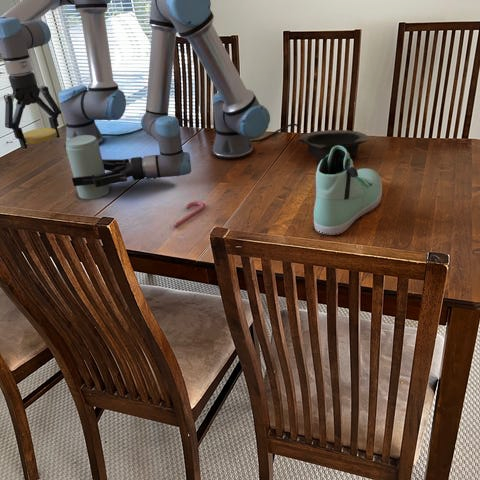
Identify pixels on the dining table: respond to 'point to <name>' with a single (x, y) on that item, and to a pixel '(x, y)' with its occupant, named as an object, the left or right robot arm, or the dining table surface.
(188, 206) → the candy cane
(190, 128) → the dining table surface
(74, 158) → the jar
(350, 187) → the sneaker
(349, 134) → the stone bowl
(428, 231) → the dining table surface
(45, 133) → the lid
